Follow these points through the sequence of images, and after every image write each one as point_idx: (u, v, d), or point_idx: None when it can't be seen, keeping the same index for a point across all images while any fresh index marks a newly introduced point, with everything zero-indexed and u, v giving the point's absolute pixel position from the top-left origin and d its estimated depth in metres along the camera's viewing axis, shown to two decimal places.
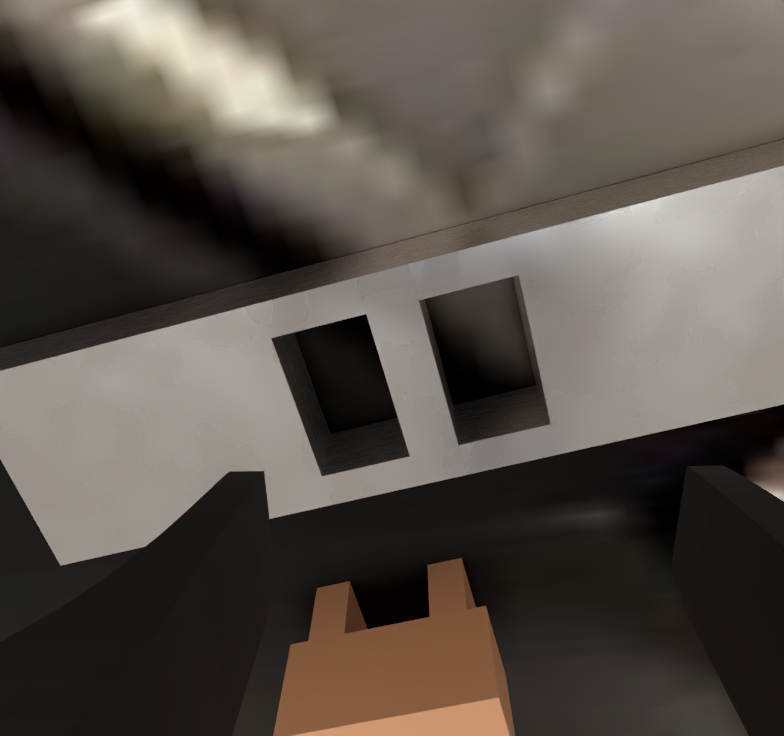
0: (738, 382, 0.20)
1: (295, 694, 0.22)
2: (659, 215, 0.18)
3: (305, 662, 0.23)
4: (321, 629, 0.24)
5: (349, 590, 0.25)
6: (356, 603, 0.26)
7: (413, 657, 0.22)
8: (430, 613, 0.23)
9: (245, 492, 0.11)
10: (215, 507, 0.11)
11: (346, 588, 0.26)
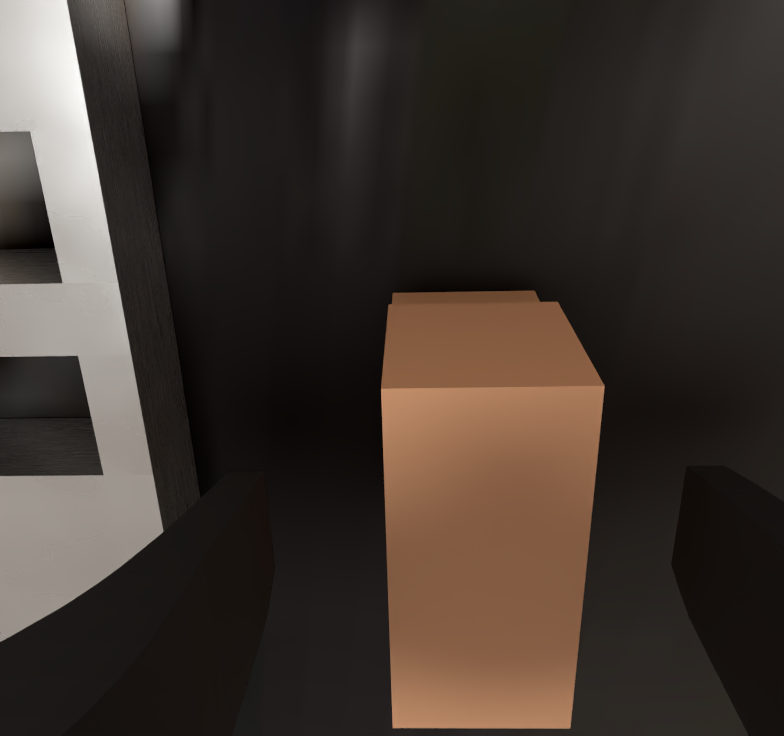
0: None
1: None
2: None
3: None
4: None
5: None
6: None
7: None
8: None
9: (245, 492, 0.11)
10: (215, 507, 0.11)
11: None
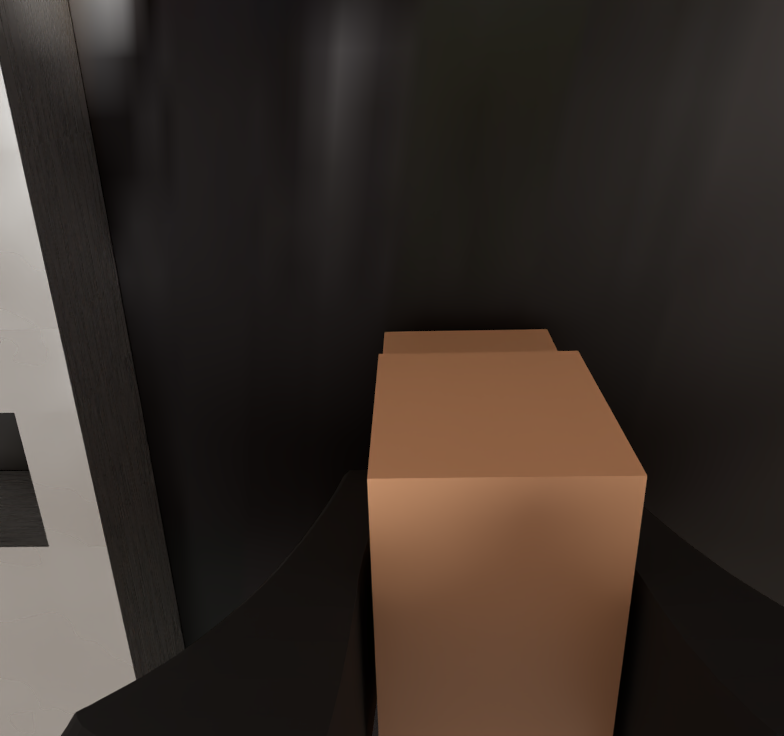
0: None
1: None
2: None
3: None
4: None
5: None
6: None
7: None
8: None
9: None
10: (354, 506, 0.11)
11: None
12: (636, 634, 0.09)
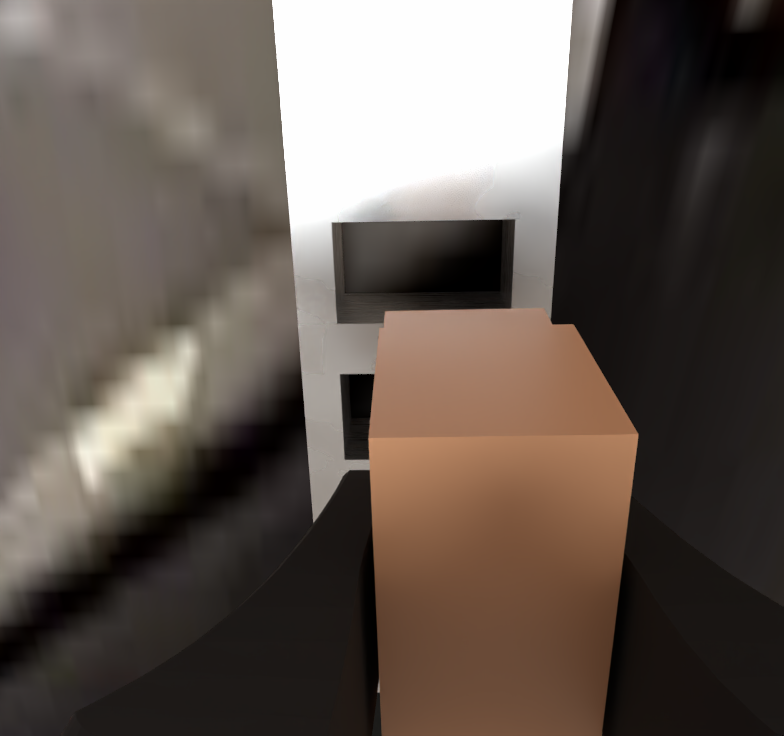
0: None
1: None
2: (296, 62, 0.16)
3: None
4: None
5: None
6: None
7: None
8: None
9: None
10: (353, 506, 0.11)
11: None
12: (636, 634, 0.09)
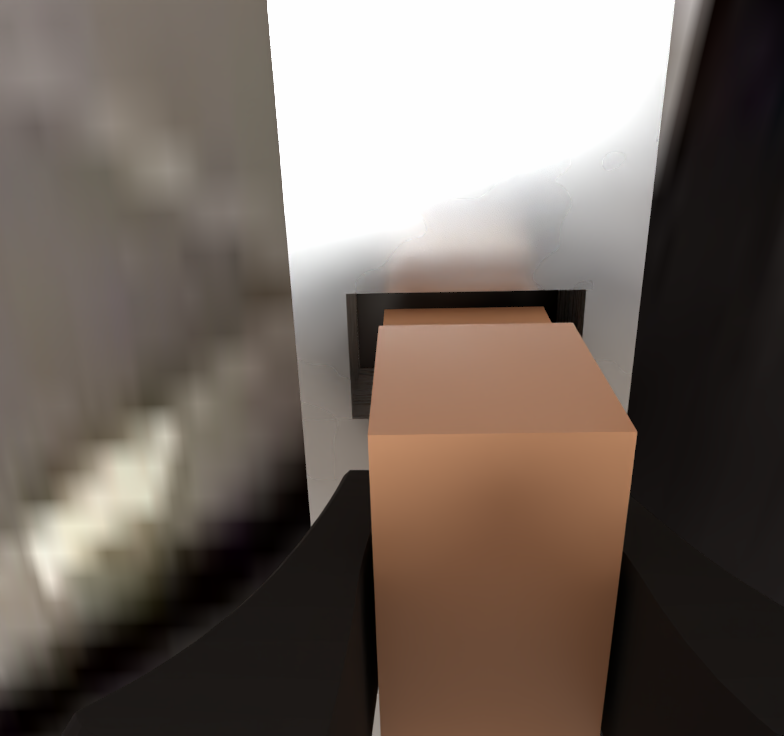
0: None
1: None
2: (299, 87, 0.12)
3: None
4: None
5: None
6: None
7: None
8: None
9: None
10: (354, 506, 0.11)
11: None
12: (636, 634, 0.09)
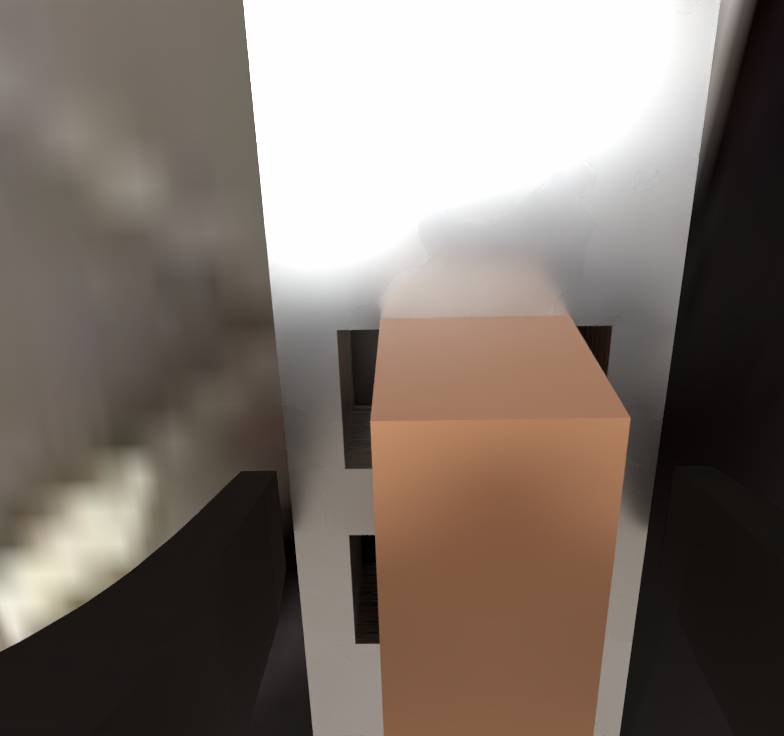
0: None
1: None
2: (281, 94, 0.10)
3: None
4: None
5: None
6: None
7: None
8: None
9: (258, 492, 0.11)
10: (229, 507, 0.11)
11: None
12: None
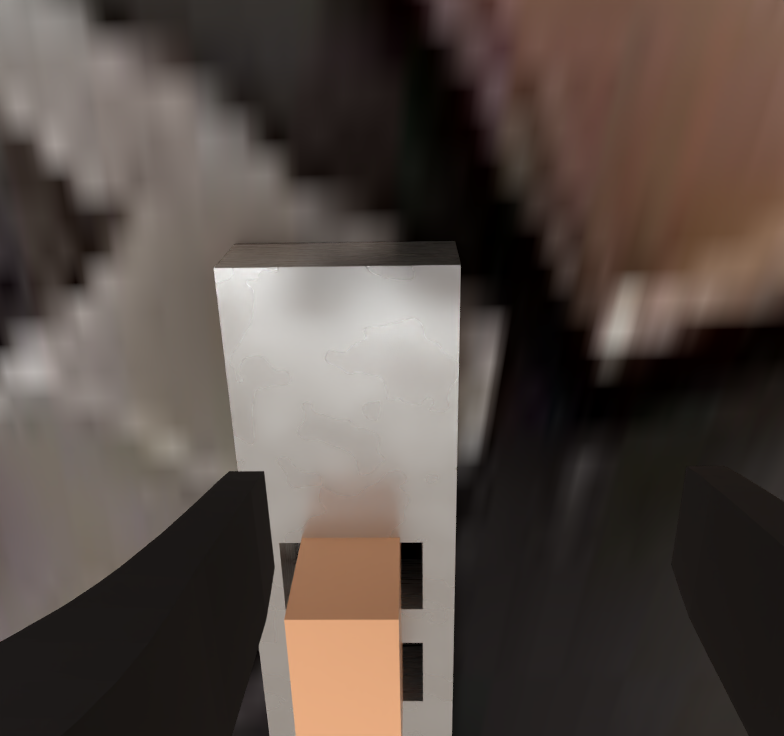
0: (423, 393, 0.20)
1: None
2: (248, 441, 0.21)
3: None
4: None
5: None
6: None
7: None
8: None
9: (245, 492, 0.11)
10: (215, 507, 0.11)
11: None
12: None
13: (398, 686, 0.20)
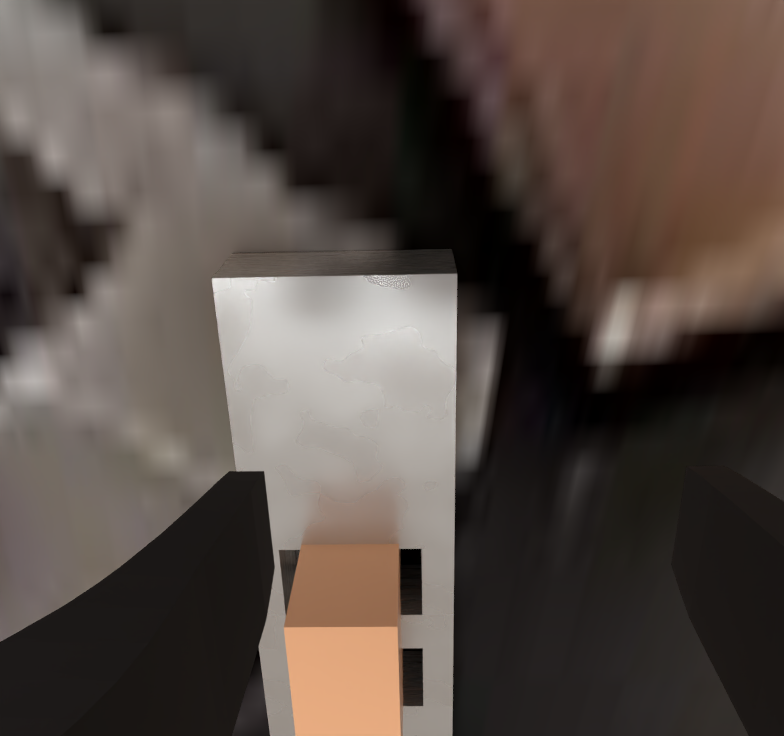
0: (421, 401, 0.21)
1: None
2: (247, 449, 0.21)
3: None
4: None
5: None
6: None
7: None
8: None
9: (245, 492, 0.11)
10: (215, 507, 0.11)
11: None
12: None
13: (397, 692, 0.20)
